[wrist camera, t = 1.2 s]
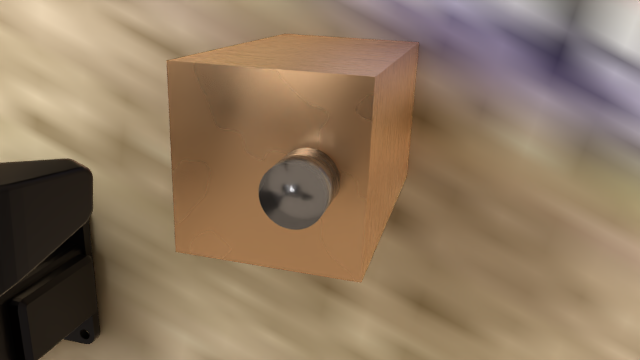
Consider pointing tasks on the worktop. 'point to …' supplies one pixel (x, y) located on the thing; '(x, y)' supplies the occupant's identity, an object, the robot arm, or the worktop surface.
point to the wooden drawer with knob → (290, 150)
